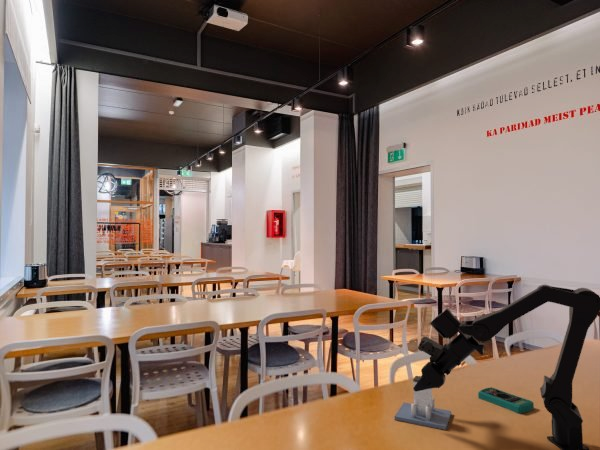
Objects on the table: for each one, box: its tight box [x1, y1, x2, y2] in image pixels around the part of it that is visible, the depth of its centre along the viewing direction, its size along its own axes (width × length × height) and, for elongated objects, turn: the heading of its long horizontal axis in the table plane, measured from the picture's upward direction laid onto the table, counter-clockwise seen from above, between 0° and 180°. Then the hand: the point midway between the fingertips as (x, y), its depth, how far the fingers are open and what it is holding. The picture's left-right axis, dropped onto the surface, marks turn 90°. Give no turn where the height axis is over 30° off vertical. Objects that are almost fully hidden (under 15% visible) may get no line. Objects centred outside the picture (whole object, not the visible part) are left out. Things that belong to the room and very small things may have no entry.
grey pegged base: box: [394, 397, 452, 431], centre depth 115 cm, size 14×11×4 cm
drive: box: [412, 375, 433, 417], centre depth 115 cm, size 4×4×10 cm
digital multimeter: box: [477, 387, 535, 415], centre depth 124 cm, size 7×15×3 cm, turn 29°
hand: (417, 384), depth 116 cm, fingers open, 9 cm apart
